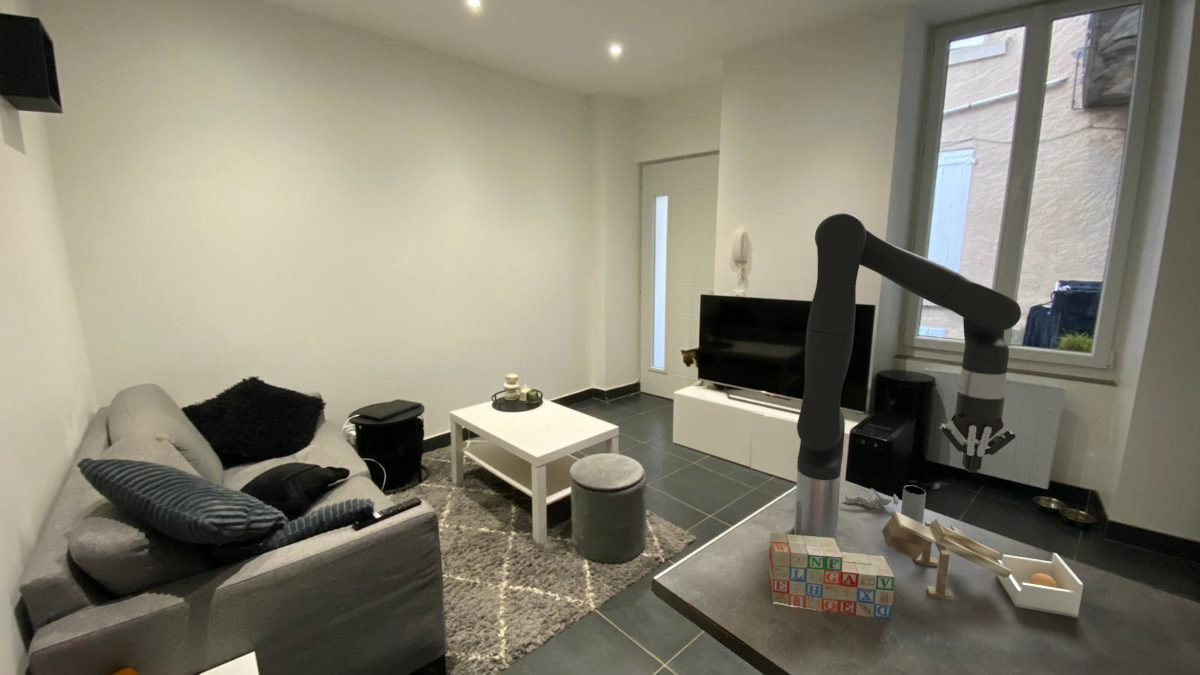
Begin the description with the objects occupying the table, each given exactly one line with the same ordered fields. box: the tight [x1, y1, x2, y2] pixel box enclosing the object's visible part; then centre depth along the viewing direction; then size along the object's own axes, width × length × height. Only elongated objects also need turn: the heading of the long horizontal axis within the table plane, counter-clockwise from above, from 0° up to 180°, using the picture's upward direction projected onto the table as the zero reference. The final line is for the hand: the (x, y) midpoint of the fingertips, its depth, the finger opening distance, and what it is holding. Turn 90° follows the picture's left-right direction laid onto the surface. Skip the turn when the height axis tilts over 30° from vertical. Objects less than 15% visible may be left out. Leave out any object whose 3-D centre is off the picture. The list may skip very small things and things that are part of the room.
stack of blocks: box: [768, 532, 895, 620], centre depth 95 cm, size 21×6×12 cm, turn 77°
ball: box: [1030, 573, 1058, 588], centre depth 94 cm, size 4×4×4 cm
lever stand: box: [914, 520, 955, 601], centre depth 100 cm, size 4×12×10 cm, turn 160°
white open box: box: [995, 552, 1084, 618], centre depth 94 cm, size 9×9×7 cm
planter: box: [900, 484, 927, 525], centre depth 116 cm, size 4×4×10 cm
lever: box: [881, 510, 1012, 578], centre depth 101 cm, size 20×13×8 cm, turn 72°
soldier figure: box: [844, 487, 900, 509], centre depth 127 cm, size 8×5×12 cm
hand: (970, 470), depth 101 cm, fingers closed
